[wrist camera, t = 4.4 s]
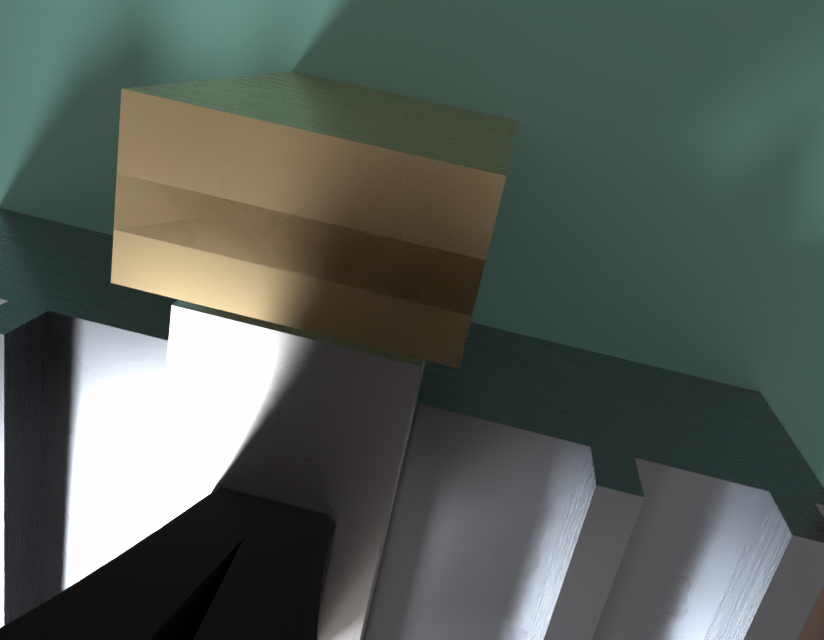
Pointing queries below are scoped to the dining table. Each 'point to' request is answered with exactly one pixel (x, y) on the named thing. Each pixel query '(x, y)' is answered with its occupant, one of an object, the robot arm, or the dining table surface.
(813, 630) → the dining table surface
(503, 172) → the heat sink
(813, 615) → the dining table surface
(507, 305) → the circuit board
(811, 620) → the dining table surface
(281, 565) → the robot arm
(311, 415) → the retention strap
